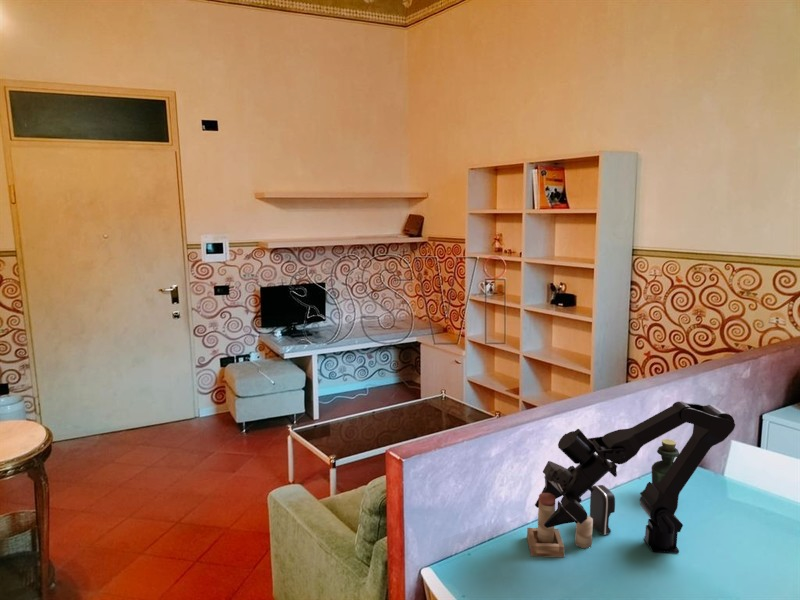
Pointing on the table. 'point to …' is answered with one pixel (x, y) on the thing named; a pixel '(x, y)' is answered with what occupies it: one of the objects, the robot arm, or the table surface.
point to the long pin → (545, 518)
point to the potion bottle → (664, 460)
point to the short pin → (584, 533)
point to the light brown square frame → (545, 544)
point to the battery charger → (601, 508)
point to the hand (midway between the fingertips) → (540, 516)
